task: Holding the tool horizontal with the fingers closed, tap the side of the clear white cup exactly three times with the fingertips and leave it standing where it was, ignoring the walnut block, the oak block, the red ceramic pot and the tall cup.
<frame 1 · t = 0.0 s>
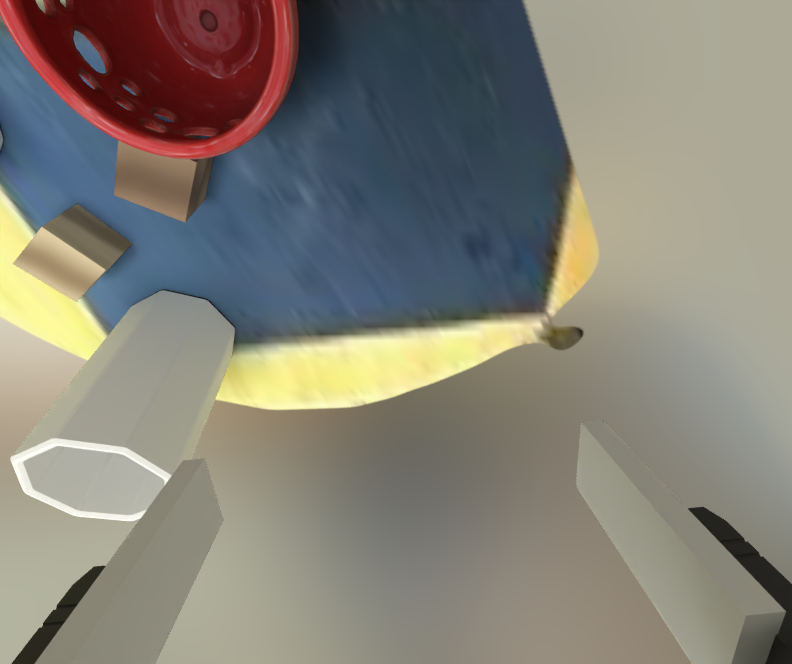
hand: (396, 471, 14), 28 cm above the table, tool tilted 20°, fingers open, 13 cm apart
walnut block: (179, 159, 33), on the table
cup: (185, 330, 44), on the table
plant pot: (219, 12, 27), on the table
oak block: (92, 240, 37), on the table
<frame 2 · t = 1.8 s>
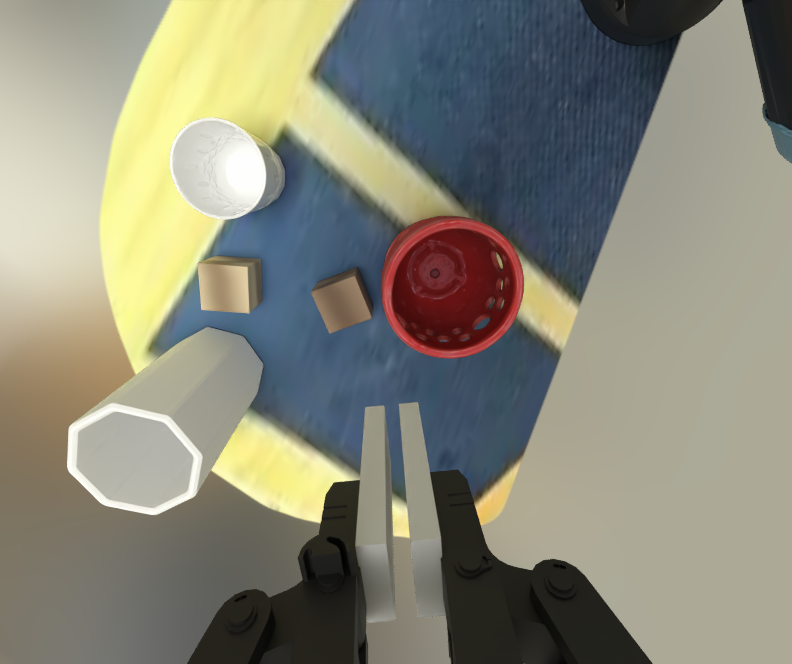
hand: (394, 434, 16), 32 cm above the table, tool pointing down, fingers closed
white cup: (254, 174, 43), on the table
walnut block: (345, 293, 47), on the table
cup: (220, 367, 50), on the table
plant pot: (436, 268, 47), on the table
oak block: (240, 278, 46), on the table
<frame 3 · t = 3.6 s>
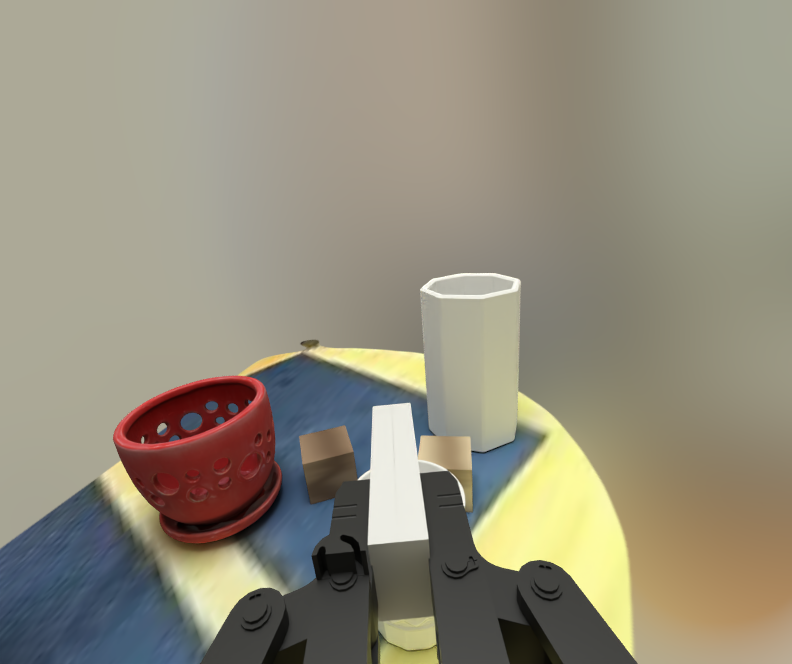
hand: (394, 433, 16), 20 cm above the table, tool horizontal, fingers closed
white cup: (415, 604, 30), on the table
walnut block: (332, 482, 43), on the table
cup: (473, 427, 50), on the table
plant pot: (224, 506, 41), on the table
oak block: (446, 492, 40), on the table
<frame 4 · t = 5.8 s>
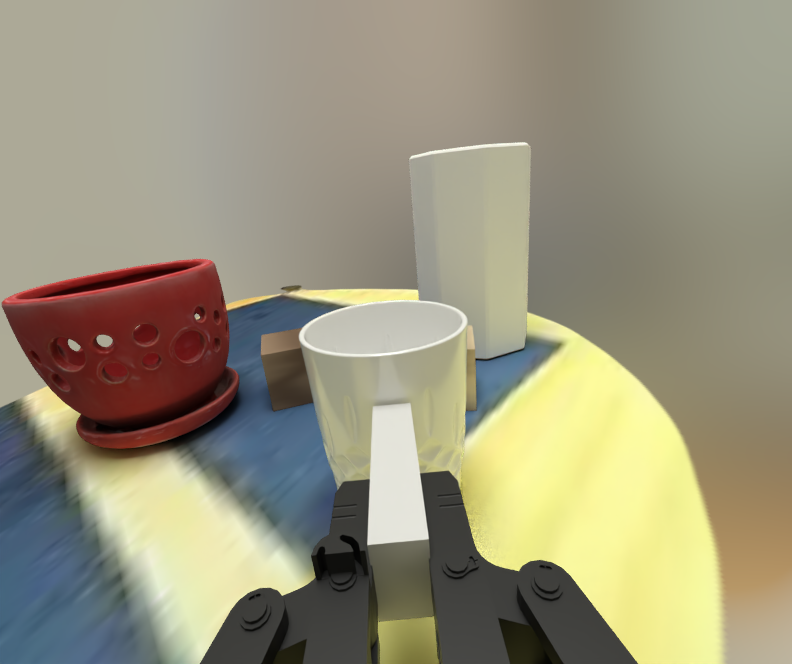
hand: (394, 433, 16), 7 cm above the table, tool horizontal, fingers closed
white cup: (400, 494, 22), on the table, touching gripper
walnut block: (302, 391, 35), on the table
cup: (474, 341, 43), on the table
plant pot: (166, 417, 33), on the table
oak block: (443, 395, 32), on the table
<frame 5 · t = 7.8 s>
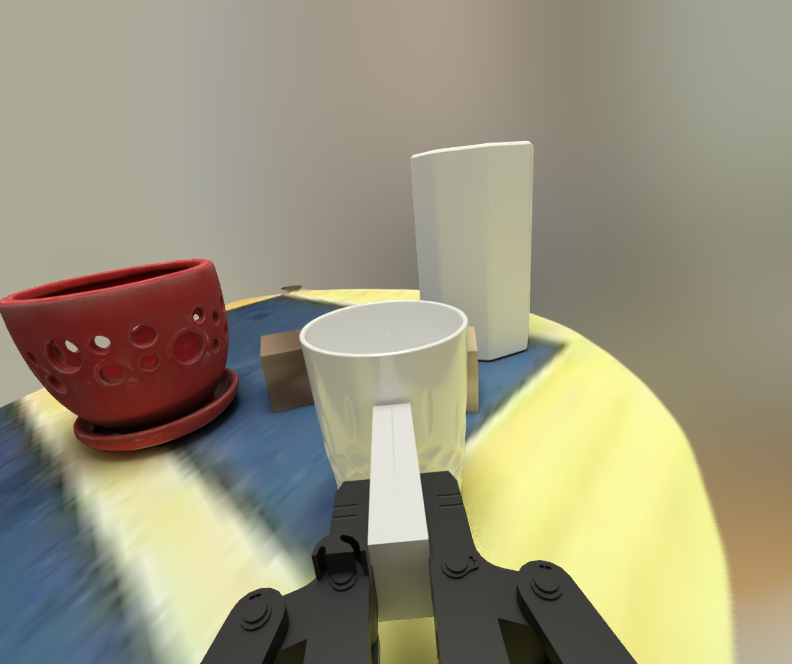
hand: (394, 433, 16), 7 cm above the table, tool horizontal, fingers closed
white cup: (401, 494, 22), on the table, touching gripper
walnut block: (302, 393, 35), on the table
cup: (476, 342, 42), on the table
plant pot: (164, 419, 33), on the table
oak block: (445, 397, 32), on the table
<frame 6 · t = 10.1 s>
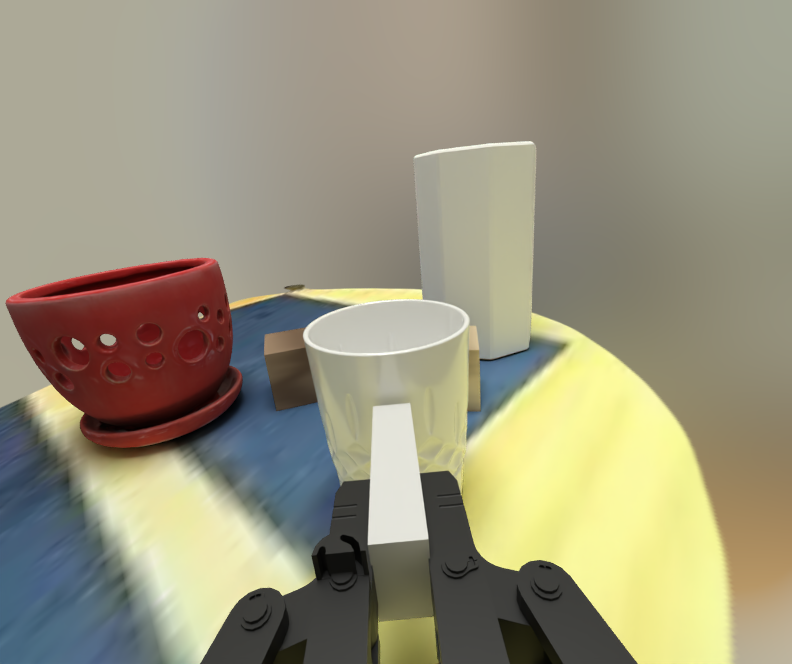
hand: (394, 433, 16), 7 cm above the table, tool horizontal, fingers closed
white cup: (403, 491, 22), on the table
walnut block: (305, 391, 35), on the table
cup: (478, 341, 42), on the table
plant pot: (169, 416, 33), on the table
oak block: (447, 395, 32), on the table
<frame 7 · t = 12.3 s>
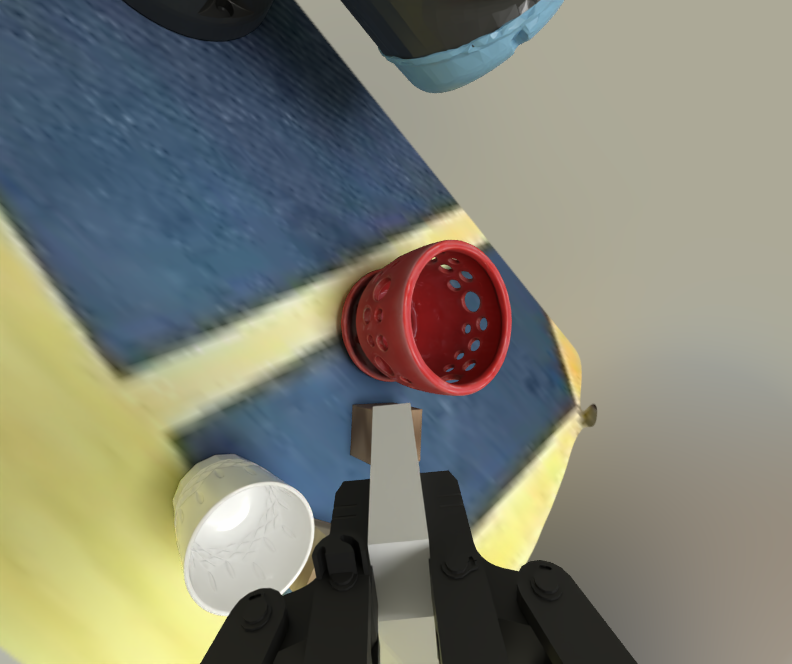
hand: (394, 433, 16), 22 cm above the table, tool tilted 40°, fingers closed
white cup: (218, 494, 33), on the table
walnut block: (372, 427, 41), on the table
cup: (389, 598, 43), on the table
plant pot: (383, 321, 43), on the table
oak block: (313, 548, 38), on the table
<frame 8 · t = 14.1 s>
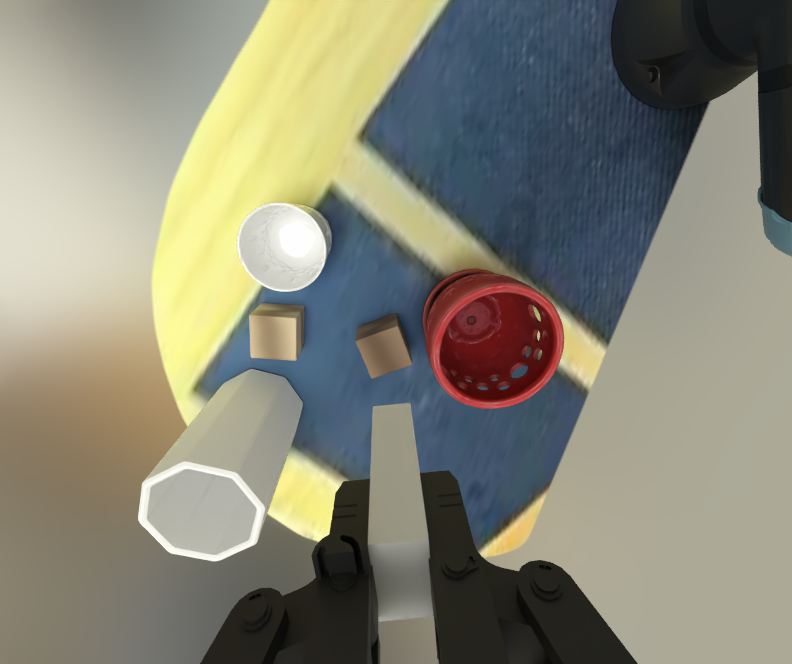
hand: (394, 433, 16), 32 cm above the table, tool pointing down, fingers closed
white cup: (303, 236, 45), on the table
walnut block: (384, 337, 49), on the table
cup: (261, 405, 52), on the table
plant pot: (471, 313, 49), on the table
oak block: (283, 323, 48), on the table
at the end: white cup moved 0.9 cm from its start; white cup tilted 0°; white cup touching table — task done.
